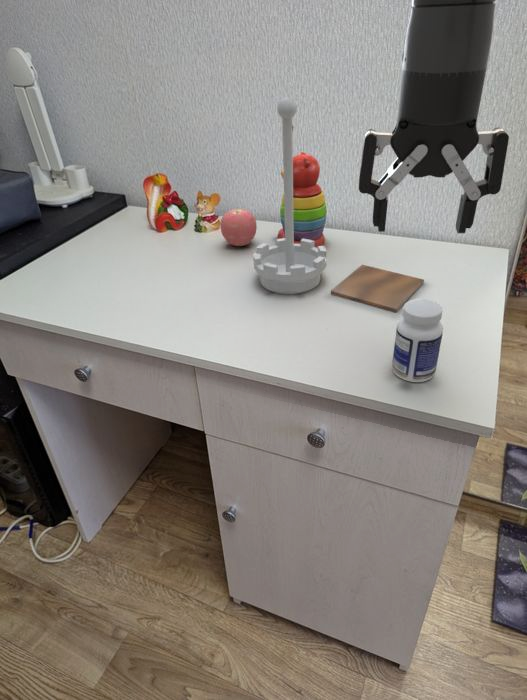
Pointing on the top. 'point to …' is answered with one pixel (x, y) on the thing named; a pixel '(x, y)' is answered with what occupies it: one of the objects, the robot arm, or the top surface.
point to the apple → (238, 227)
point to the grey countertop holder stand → (289, 233)
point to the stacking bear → (306, 202)
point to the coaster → (378, 287)
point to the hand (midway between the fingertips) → (420, 230)
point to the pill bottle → (418, 340)
